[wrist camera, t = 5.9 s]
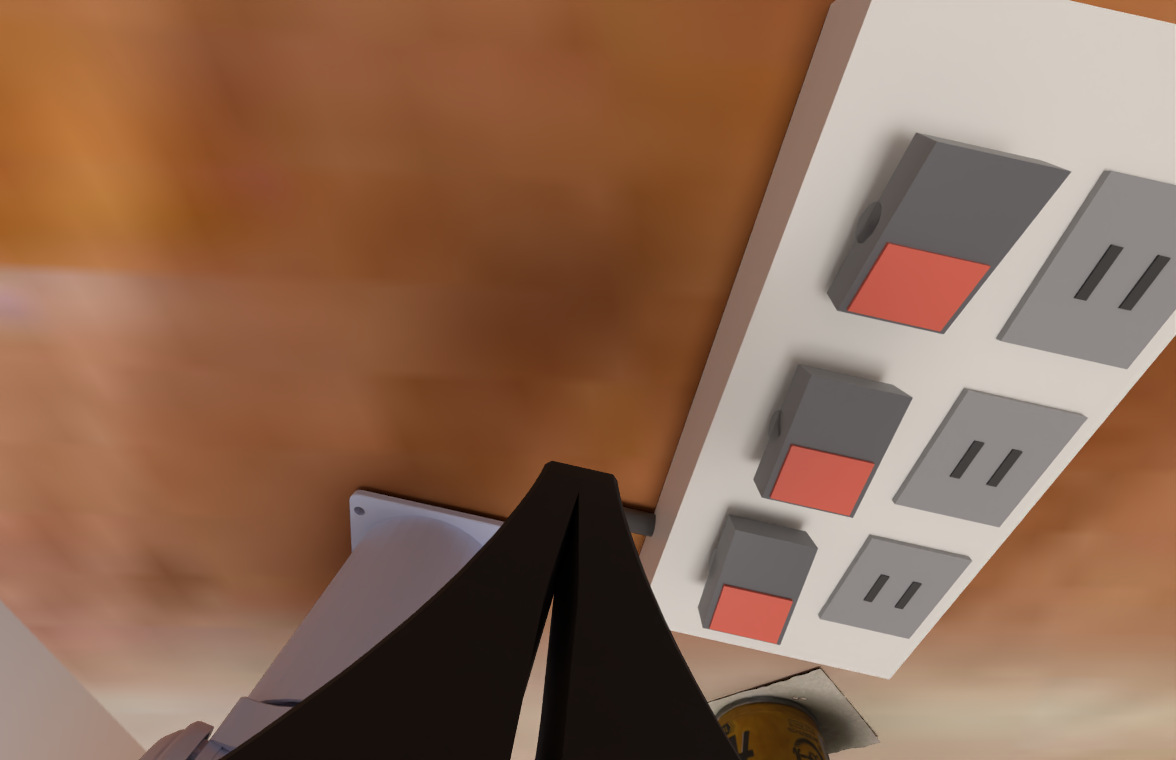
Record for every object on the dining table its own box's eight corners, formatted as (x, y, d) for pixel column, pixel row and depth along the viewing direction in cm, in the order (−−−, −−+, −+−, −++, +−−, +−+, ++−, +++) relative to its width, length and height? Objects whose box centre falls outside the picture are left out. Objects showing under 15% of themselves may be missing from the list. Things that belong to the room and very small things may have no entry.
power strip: (857, 612, 22) (892, 685, 19) (554, 544, 22) (541, 606, 19) (1222, 91, 13) (1410, 70, 10) (684, -29, 13) (699, -88, 10)
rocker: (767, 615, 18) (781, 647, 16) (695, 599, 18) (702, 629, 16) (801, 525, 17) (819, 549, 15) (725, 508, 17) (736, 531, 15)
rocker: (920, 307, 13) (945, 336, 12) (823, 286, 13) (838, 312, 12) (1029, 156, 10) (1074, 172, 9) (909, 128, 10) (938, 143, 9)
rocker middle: (833, 491, 15) (854, 520, 14) (750, 472, 15) (762, 499, 14) (885, 380, 14) (915, 399, 12) (793, 359, 14) (813, 376, 12)
